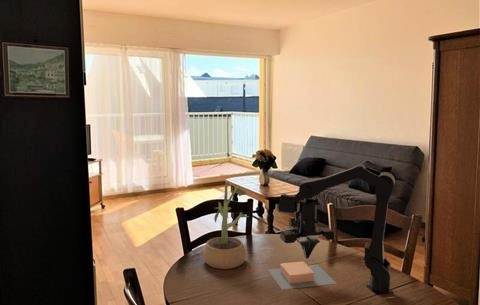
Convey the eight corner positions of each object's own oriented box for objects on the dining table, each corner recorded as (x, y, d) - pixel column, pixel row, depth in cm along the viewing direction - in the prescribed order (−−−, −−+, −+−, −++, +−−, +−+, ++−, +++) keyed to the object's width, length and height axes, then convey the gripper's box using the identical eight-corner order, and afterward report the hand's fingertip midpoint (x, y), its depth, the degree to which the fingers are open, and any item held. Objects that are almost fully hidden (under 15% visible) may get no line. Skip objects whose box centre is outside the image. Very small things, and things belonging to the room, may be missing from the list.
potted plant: (248, 271, 145) (249, 192, 141) (200, 270, 146) (199, 191, 142) (249, 248, 168) (250, 179, 164) (207, 247, 168) (207, 179, 164)
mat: (336, 284, 135) (336, 283, 135) (281, 290, 131) (281, 289, 131) (317, 265, 151) (317, 264, 151) (267, 270, 146) (267, 269, 146)
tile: (314, 272, 136) (290, 275, 134) (314, 281, 137) (289, 284, 135) (303, 261, 146) (280, 263, 144) (303, 269, 146) (280, 271, 144)
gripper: (322, 208, 148) (321, 247, 150) (275, 211, 144) (274, 251, 146) (336, 216, 138) (334, 259, 140) (285, 220, 133) (285, 263, 135)
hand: (306, 258), depth 140 cm, fingers closed
